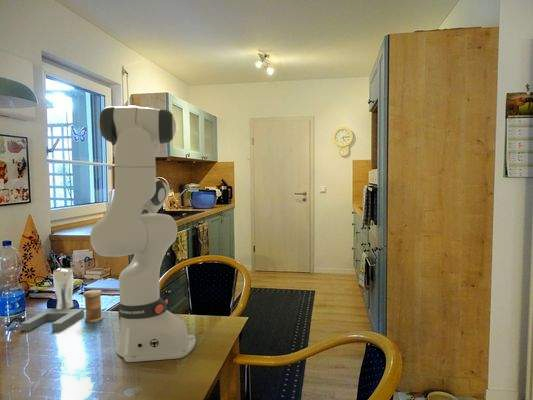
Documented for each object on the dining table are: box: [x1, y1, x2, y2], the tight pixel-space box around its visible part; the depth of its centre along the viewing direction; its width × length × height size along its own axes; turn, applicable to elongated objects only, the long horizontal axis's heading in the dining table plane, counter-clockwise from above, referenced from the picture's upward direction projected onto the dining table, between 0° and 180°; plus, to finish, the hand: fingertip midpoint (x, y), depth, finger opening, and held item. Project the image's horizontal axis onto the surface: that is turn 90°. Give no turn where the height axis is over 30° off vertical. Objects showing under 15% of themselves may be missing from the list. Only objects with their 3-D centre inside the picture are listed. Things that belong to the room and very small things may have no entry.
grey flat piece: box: [20, 308, 85, 332], centre depth 137 cm, size 14×14×2 cm
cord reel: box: [82, 289, 104, 324], centre depth 139 cm, size 6×6×10 cm
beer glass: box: [52, 267, 75, 309], centre depth 153 cm, size 7×7×15 cm
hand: (120, 244), depth 148 cm, fingers open, 8 cm apart
